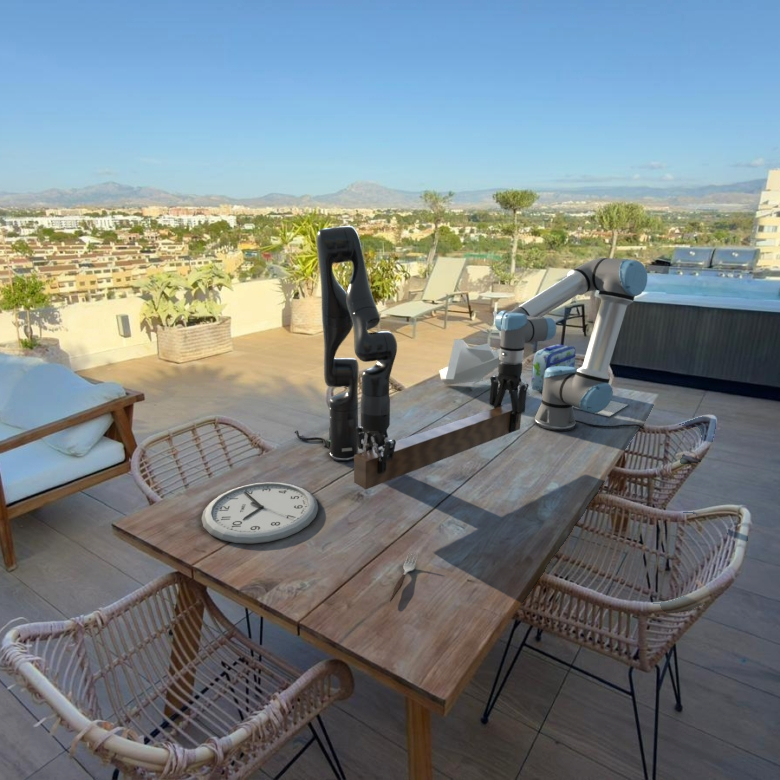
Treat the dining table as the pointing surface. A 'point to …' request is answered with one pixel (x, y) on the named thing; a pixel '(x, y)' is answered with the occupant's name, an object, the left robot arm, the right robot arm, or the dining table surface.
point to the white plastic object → (471, 363)
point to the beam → (433, 446)
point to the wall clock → (259, 513)
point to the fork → (407, 568)
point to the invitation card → (611, 408)
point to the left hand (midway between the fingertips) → (374, 468)
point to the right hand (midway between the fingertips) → (504, 428)
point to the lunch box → (550, 362)
